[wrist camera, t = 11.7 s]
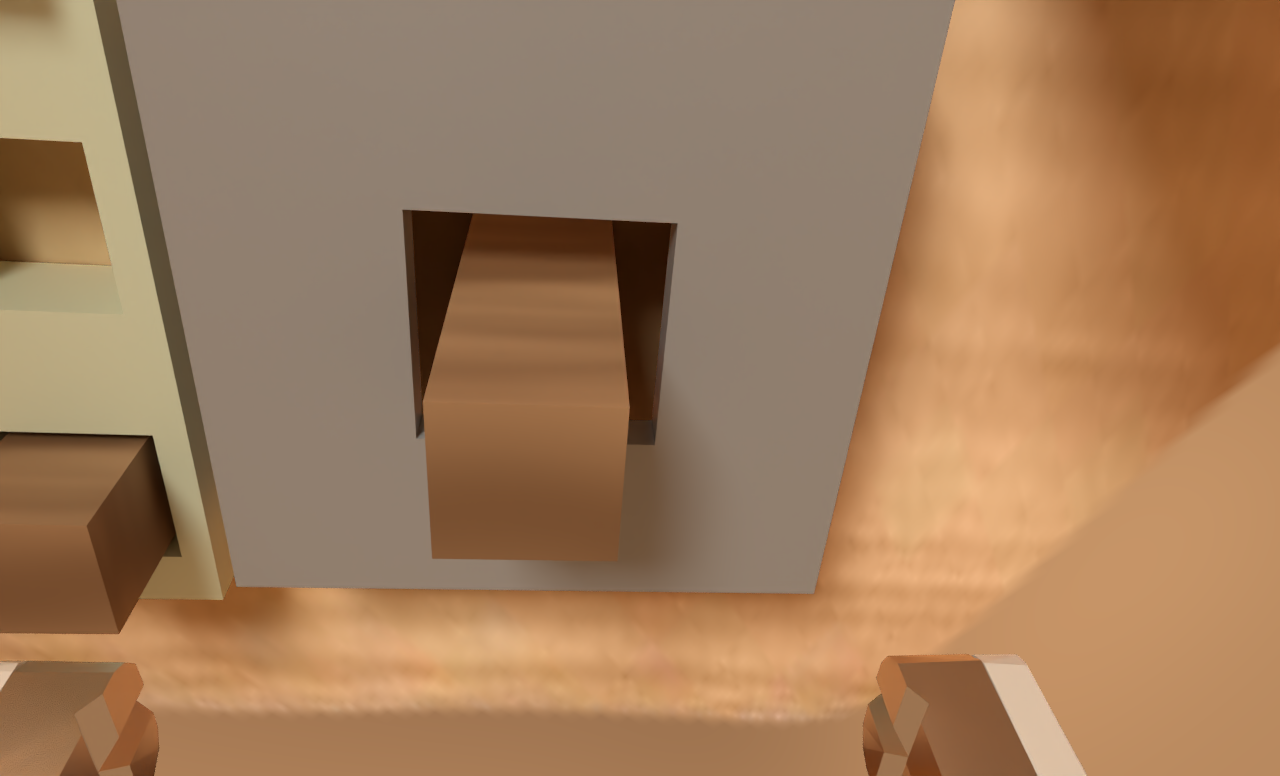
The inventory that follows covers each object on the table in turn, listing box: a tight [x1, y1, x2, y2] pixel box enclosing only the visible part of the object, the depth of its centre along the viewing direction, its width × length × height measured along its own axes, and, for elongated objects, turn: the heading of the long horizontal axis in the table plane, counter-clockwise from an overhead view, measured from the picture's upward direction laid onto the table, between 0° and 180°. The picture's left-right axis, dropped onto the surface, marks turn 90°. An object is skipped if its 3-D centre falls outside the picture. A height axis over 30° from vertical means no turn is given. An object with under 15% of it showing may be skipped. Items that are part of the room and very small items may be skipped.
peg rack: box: [0, 0, 234, 600], centre depth 20 cm, size 21×5×2 cm, turn 176°
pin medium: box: [0, 432, 176, 634], centre depth 22 cm, size 3×3×6 cm
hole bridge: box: [116, 0, 955, 594], centre depth 21 cm, size 14×14×4 cm
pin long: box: [423, 213, 630, 561], centre depth 19 cm, size 3×3×9 cm
